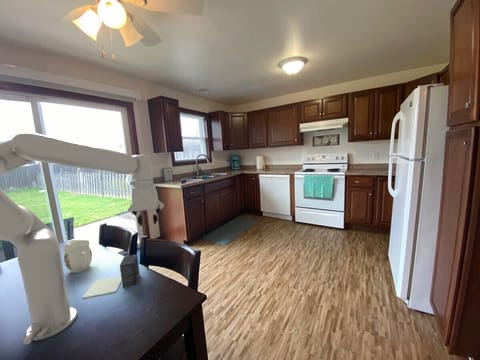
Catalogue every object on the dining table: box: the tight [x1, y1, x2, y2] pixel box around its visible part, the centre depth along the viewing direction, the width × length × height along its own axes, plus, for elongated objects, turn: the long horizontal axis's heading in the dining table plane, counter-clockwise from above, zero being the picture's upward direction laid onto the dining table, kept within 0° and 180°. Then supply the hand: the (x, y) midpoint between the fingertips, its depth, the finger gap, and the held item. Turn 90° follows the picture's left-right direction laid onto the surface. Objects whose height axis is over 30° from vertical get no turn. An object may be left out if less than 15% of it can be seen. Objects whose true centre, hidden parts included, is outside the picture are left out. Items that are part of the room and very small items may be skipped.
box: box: [119, 254, 141, 289], centre depth 91 cm, size 8×6×11 cm
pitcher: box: [62, 239, 93, 274], centre depth 103 cm, size 11×18×14 cm, turn 57°
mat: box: [82, 275, 122, 299], centre depth 89 cm, size 12×12×1 cm
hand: (148, 223), depth 91 cm, fingers open, 5 cm apart
